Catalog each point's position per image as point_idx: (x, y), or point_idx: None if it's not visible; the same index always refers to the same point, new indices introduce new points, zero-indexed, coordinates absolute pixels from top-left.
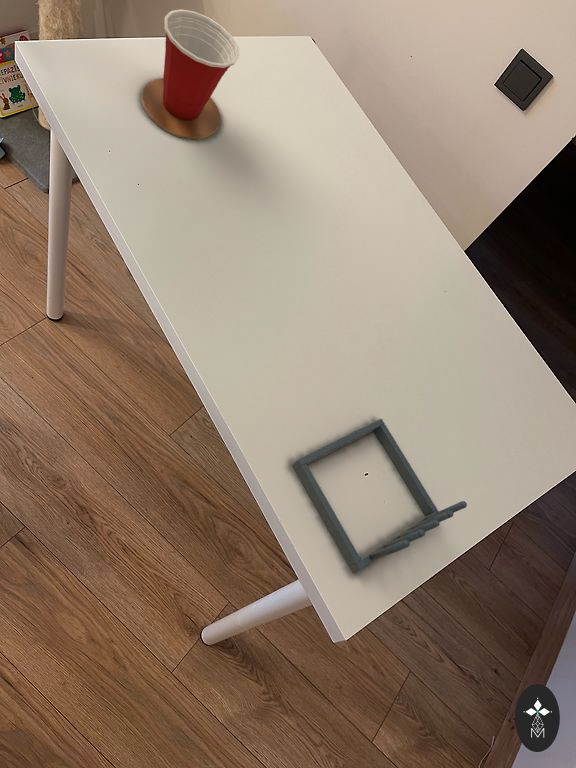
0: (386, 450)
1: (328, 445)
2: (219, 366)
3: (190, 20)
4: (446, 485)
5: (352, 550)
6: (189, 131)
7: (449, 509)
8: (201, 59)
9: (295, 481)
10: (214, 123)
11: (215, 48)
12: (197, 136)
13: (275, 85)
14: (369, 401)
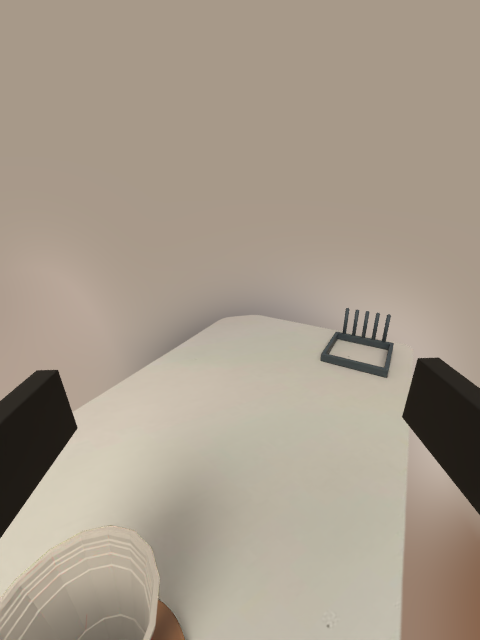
0: (328, 353)
1: (363, 364)
2: (391, 427)
3: None
4: (314, 337)
5: (391, 346)
6: (168, 630)
7: (347, 317)
8: (154, 570)
9: (390, 374)
10: None
11: (23, 630)
12: (169, 610)
13: None
14: (311, 365)
